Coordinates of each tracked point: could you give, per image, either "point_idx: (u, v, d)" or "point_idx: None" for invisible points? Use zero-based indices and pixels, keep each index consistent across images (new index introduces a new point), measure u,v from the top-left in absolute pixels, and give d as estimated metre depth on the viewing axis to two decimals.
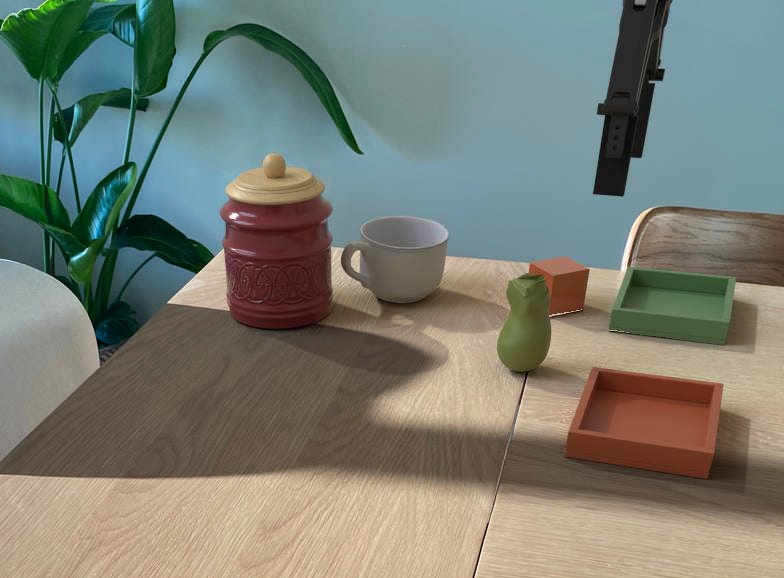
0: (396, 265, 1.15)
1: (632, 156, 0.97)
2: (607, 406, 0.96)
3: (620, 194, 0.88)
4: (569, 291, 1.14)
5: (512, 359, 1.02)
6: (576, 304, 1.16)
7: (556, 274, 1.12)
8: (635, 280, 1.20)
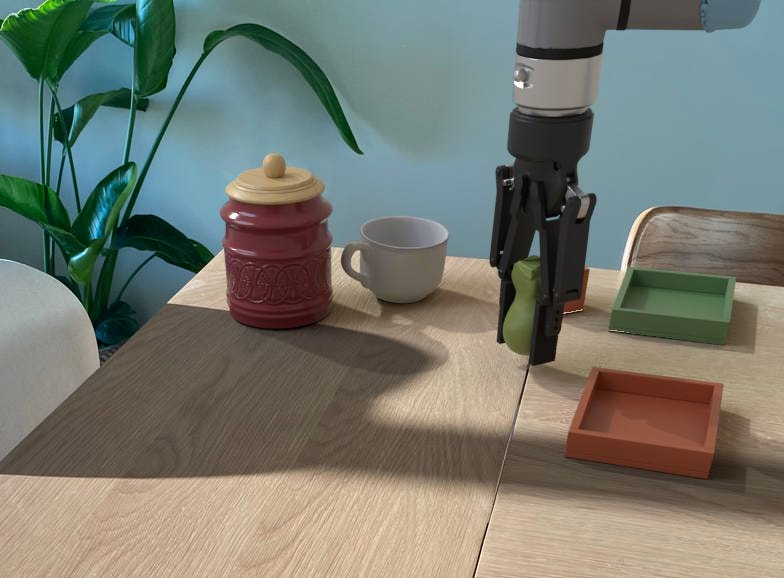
0: (396, 265, 1.15)
1: None
2: (607, 406, 0.96)
3: (552, 360, 1.01)
4: None
5: (519, 343, 1.00)
6: (576, 304, 1.16)
7: None
8: (635, 280, 1.20)
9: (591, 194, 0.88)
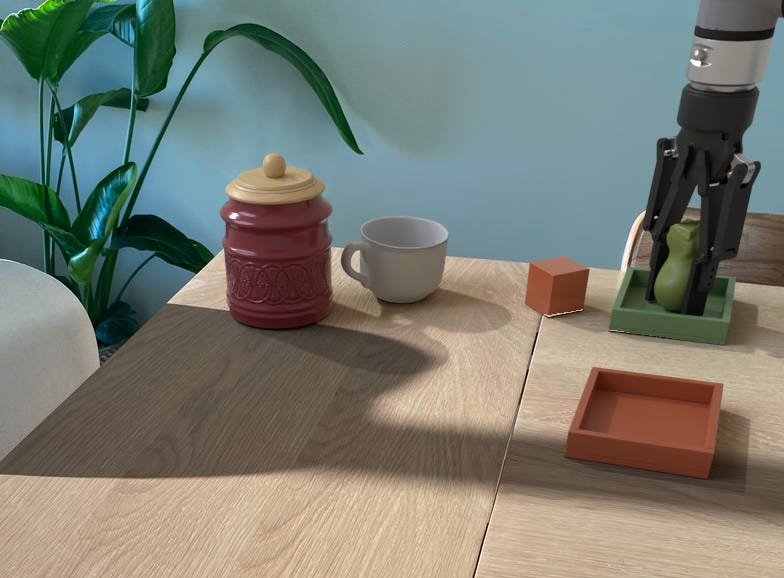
0: (396, 265, 1.15)
1: None
2: (607, 406, 0.96)
3: (701, 314, 1.12)
4: (569, 291, 1.14)
5: (671, 298, 1.11)
6: (576, 304, 1.16)
7: (556, 274, 1.12)
8: (635, 280, 1.20)
9: (756, 162, 0.99)
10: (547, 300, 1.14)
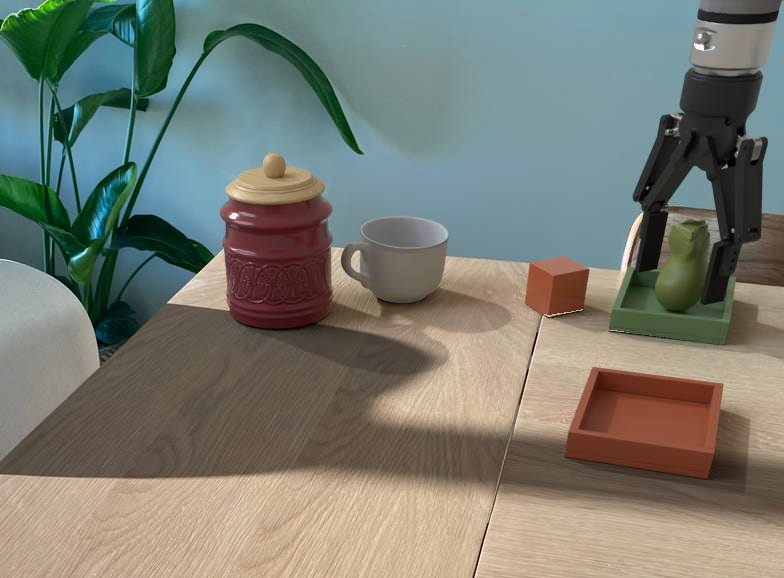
0: (396, 265, 1.15)
1: (651, 268, 1.17)
2: (607, 406, 0.96)
3: (721, 300, 1.09)
4: (569, 291, 1.14)
5: (672, 299, 1.11)
6: (576, 304, 1.16)
7: (556, 274, 1.12)
8: (635, 280, 1.20)
9: (762, 137, 0.98)
10: (547, 300, 1.14)
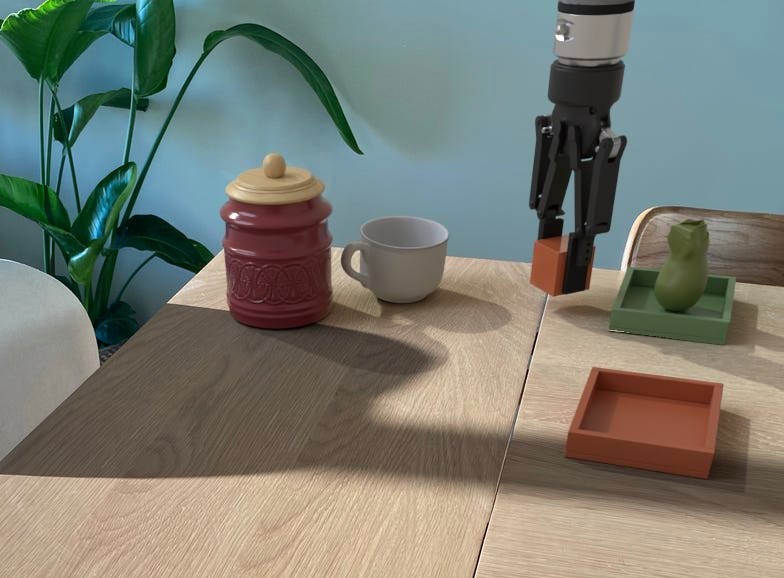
0: (396, 265, 1.15)
1: None
2: (607, 406, 0.96)
3: (582, 289, 1.13)
4: None
5: (672, 299, 1.11)
6: None
7: (561, 252, 1.10)
8: (635, 280, 1.20)
9: (622, 136, 1.01)
10: (553, 278, 1.12)
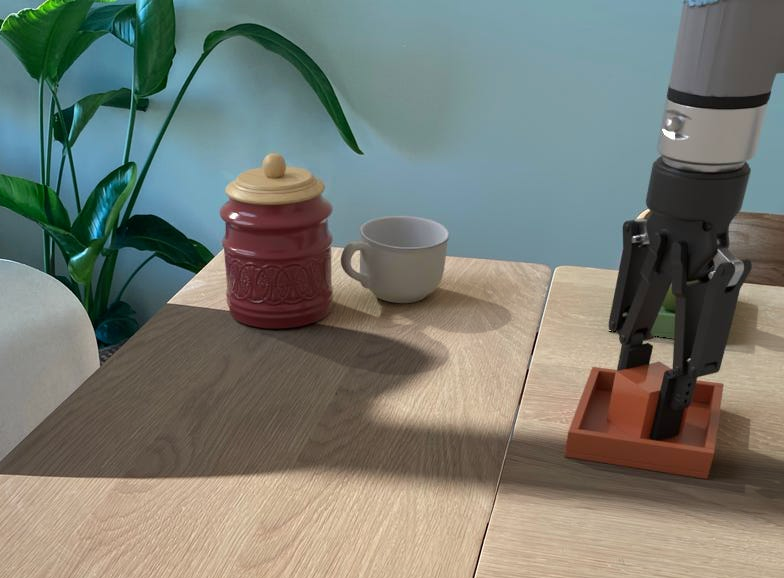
0: (396, 265, 1.15)
1: None
2: (607, 406, 0.96)
3: (676, 434, 0.91)
4: None
5: (672, 299, 1.11)
6: None
7: (652, 391, 0.87)
8: None
9: (746, 260, 0.78)
10: (640, 421, 0.90)
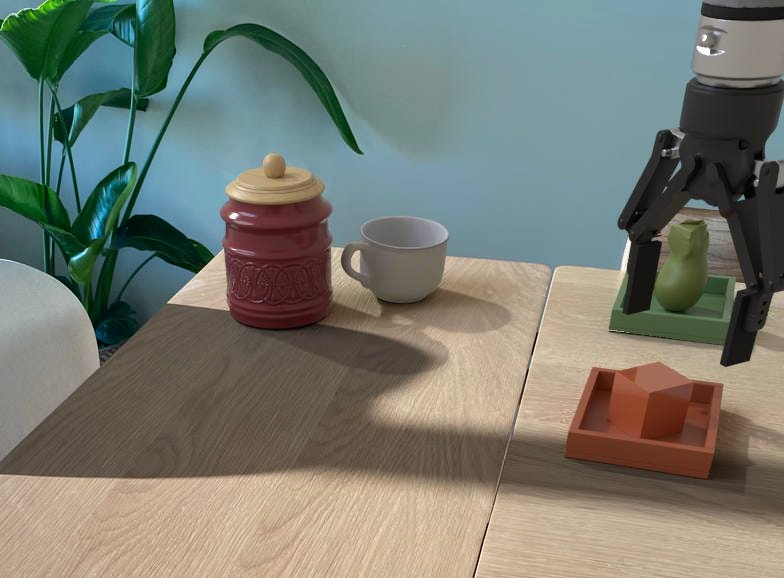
0: (396, 265, 1.15)
1: (642, 310, 0.95)
2: (607, 406, 0.96)
3: (747, 359, 0.86)
4: (667, 410, 0.89)
5: (672, 299, 1.11)
6: (675, 424, 0.91)
7: (652, 391, 0.87)
8: None
9: None
10: (640, 421, 0.90)
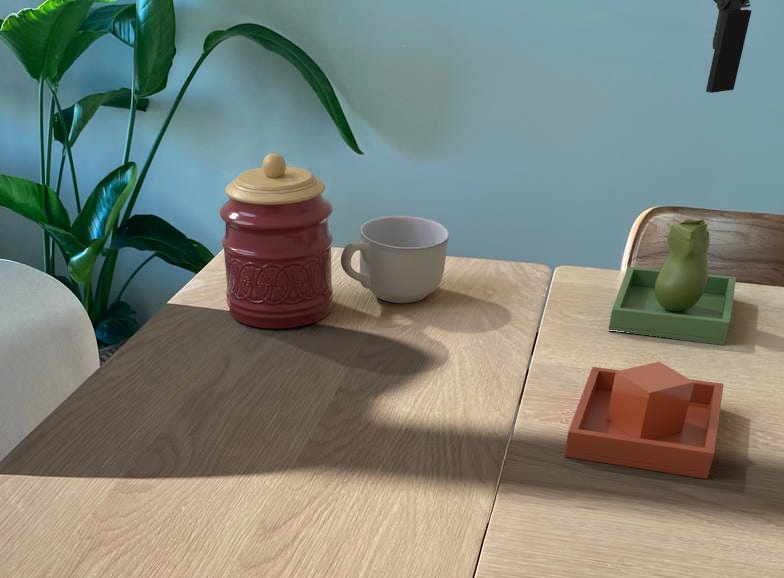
0: (396, 265, 1.15)
1: (726, 89, 0.94)
2: (607, 406, 0.96)
3: None
4: (667, 410, 0.89)
5: (672, 299, 1.11)
6: (675, 424, 0.91)
7: (652, 391, 0.87)
8: (635, 280, 1.20)
9: None
10: (640, 421, 0.90)
